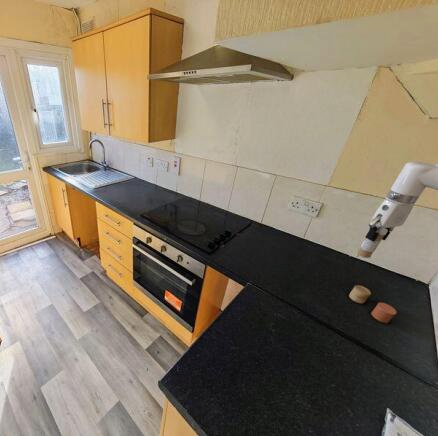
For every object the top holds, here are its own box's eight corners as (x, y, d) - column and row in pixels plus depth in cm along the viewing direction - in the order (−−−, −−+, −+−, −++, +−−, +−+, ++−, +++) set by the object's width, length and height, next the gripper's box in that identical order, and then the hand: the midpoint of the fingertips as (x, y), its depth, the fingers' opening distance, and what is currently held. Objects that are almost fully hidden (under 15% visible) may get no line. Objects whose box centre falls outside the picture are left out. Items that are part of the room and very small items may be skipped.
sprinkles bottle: (362, 251, 97) (378, 224, 90) (373, 257, 93) (391, 230, 87) (353, 252, 96) (369, 225, 90) (364, 259, 92) (382, 231, 86)
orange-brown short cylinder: (377, 310, 89) (384, 301, 87) (392, 321, 85) (400, 312, 82) (367, 312, 88) (374, 303, 86) (382, 324, 84) (389, 315, 81)
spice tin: (355, 292, 97) (361, 284, 94) (367, 302, 93) (374, 293, 90) (345, 294, 96) (351, 286, 93) (357, 304, 92) (364, 295, 89)
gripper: (395, 203, 76) (367, 246, 85) (432, 200, 80) (401, 242, 89) (372, 194, 83) (348, 235, 92) (406, 191, 86) (381, 231, 95)
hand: (375, 238), depth 90 cm, fingers closed on sprinkles bottle, 4 cm apart
